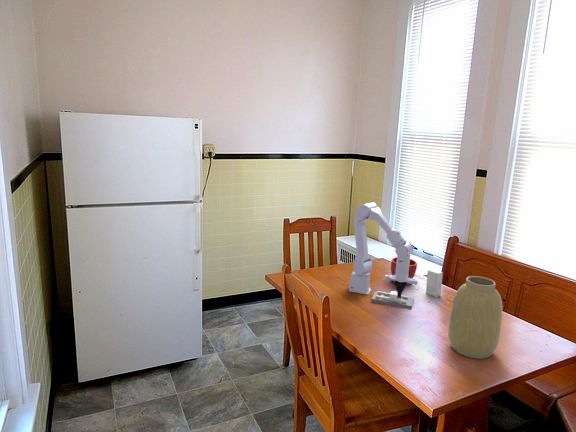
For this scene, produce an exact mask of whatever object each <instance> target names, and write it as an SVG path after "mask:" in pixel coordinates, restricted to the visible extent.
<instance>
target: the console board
mask: <svg viewBox="0 0 576 432" xmlns="http://www.w3.org/2000/svg"><path fill="white" fill-rule="evenodd" d="M390 293H391V292H385V291H381V290H380V291H379V290H377V291H374V293H373V295H372V297H371V300H370V301H371V303H378V304H381V305H387V306H393V307H396V308H397V307H398V308H403V309H408V310H412V309H413V308H412V307H413V305H414V304H413V303H414V297H409V296H406V295H402V294H401V298H400V297H397V299H394V298H390Z"/></svg>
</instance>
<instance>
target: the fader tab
mask: <svg viewBox="0 0 576 432" xmlns="http://www.w3.org/2000/svg"><path fill="white" fill-rule="evenodd" d="M389 293H390V298H394V299H397V297H398V294H397V291H396V290H391V291H390V292H389Z"/></svg>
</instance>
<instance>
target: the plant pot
mask: <svg viewBox="0 0 576 432" xmlns="http://www.w3.org/2000/svg"><path fill="white" fill-rule="evenodd" d="M396 262H397V256H396V257H393V258H392V259H391V263H390V273H391V275H395V272H396ZM417 269H418V262H417V261H416V260H414V259H411V258H410V263H409V272H408V278H412V279H414V277H415V275H416V272H417ZM392 282H393V283H394V284H395V281H392ZM409 285H411V284H410V283H407V284H406V286H409Z"/></svg>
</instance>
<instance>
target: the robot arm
mask: <svg viewBox="0 0 576 432" xmlns="http://www.w3.org/2000/svg"><path fill="white" fill-rule="evenodd" d="M368 220H371V221H375V222H376V223H377V224H378V225H379V226H380V227H381V228H382V229H383V231H384V232H385V233H386V238H387V240H388V241H389V243H391V245H392V246H393V248H394V251H395V252H394V253H395V254H396V257H397V262H396V272H395V275H392V274H385V275H384V280H385V281H387V280H388V281H392V282H393V281H395V283H394V287H395V289H396V292H397V294H398V297H400V298H401V295H402V294H403V291H404V289H405V288H406V286H407V285H406V284H407V283H410V284H409V285H415V286H418V282H419V280H418V279H415V278H413V279H412V278H408V272H409V263H410V259H411V254H412V253H413V252H414V248H413V247H414V246H413V245H412V243H410V242H408V241H407V240H406V239H405V238H404V237H403V236H402V234H401V231H400V230H398V229H396V228H395V229H394V228H393V227H392V226H391V224H390V223H389V221H388V220H387V218H386V217H385V215H384V214H383V212H382V210H381V208H380V207H379V206H378V204H376V202H373V201H371V202H370V201H369V202H367V203H365V204H364V203H362V204H360V205H358V206H357V208H355V214H354V217H353V227H354V228H353V229H354V238H355V247H356V248H355V250H356V256H355V258H354V260H353V261H354V263H353V268H352V269H353V271H352V272H351V274H350V277H349V289H348V291H349V292H352V293H357V294H363V295H369V294H370V292H371V290H372V288H371V287H370V281H371V272H372V270H373V268H374V262H373V261H372V260H373V259H372V256H371V255H370V254H369V248H368V238H367V228H366V227H367V226H366V222H367V221H368Z"/></svg>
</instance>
